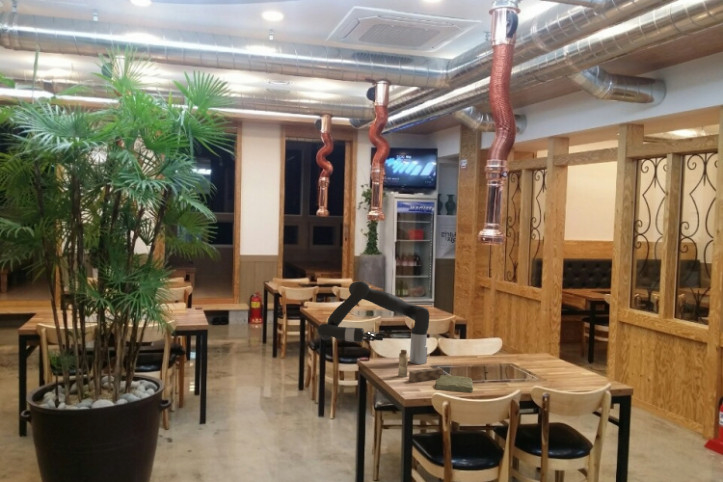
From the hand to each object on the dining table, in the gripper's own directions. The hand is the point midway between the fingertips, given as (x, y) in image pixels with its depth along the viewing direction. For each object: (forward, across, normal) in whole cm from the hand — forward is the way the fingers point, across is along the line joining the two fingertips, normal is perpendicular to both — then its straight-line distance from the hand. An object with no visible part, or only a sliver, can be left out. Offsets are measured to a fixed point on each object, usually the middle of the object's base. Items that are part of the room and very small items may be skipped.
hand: (383, 337), depth 340 cm
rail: (+24, -3, +20) cm, 31 cm away
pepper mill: (+11, 0, +20) cm, 23 cm away
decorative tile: (+39, -10, +21) cm, 45 cm away
